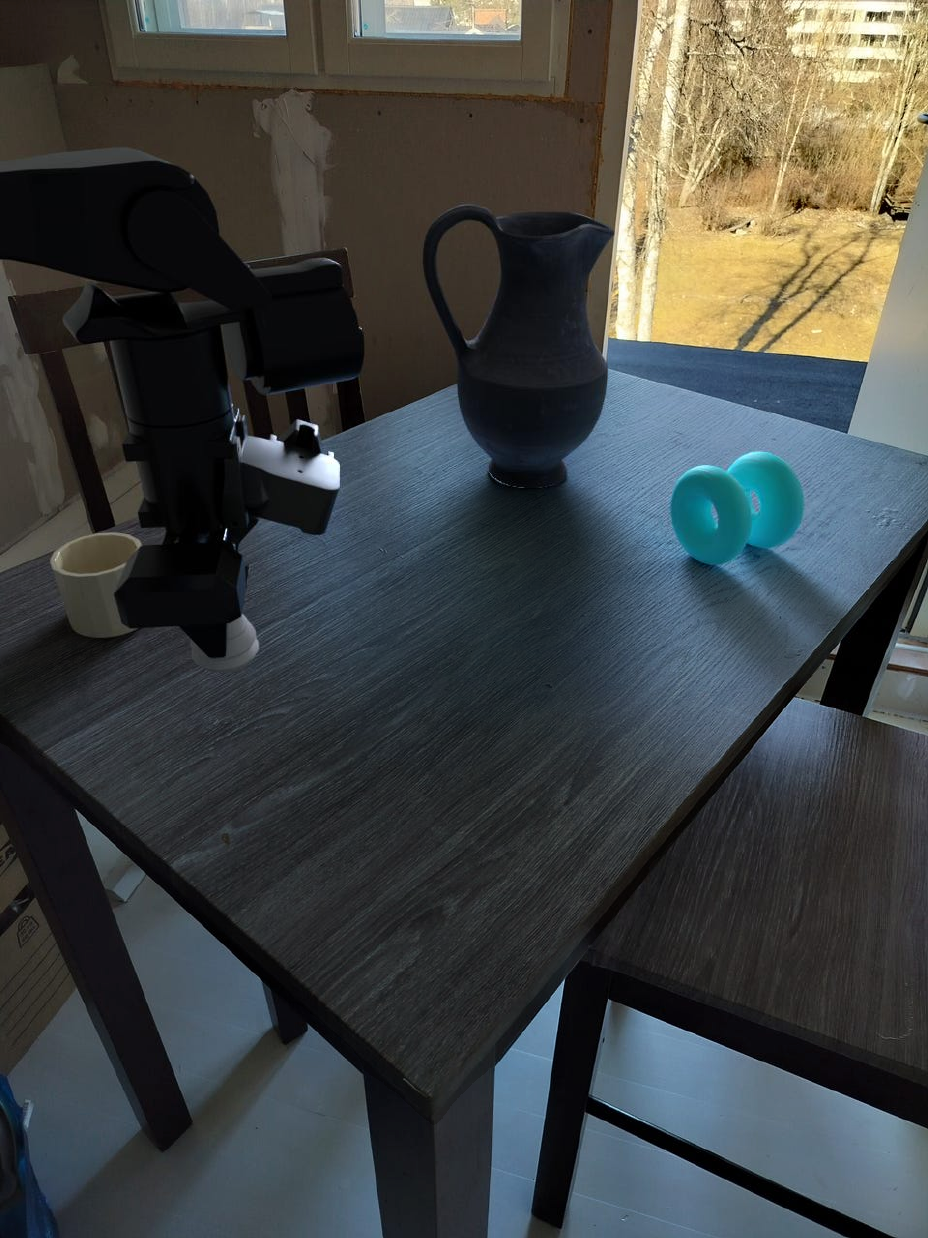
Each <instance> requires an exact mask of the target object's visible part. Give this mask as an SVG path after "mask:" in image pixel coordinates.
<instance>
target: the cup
mask: <svg viewBox="0 0 928 1238" xmlns="http://www.w3.org/2000/svg"><path fill="white" fill-rule="evenodd" d="M141 545H142V542H141V540H140V539H138V538H137V537H135V536H133V535H131V534H128V533H122V532H115V531H113V532H97V533H92V534H88V535H83V536H79V537H77V538H75V539H73V540H71V541H67V542H66V543H64V544H63V545H62V546H60V547H59V548H58V549H56V550H55V551H54V552H53V554H52V556H51V557H50V559H49V563H50V567H51V570H52V573H53V576H54V579H55V582H56V586H57V588H58V591H59V595H60V597H61V601H62V604H63V607H64V611H65V613H66V617H67V620H68V622H69V625H70V627H71V629H72V631H74V632H75V633H77V634H78V635H81V636H83V637H88V638H92V639H93V638H94V639H107V638H114V637H120V636H123V635H126V634H129V633H131V632H134V631H136V630H138V629H139V628H134V629H130V628H128V627H127V626H125V625H124V624H122V623H121V620H120V616H119V612H118V608H117V605H116V601H115V597H114V592H115V589H116V587H117V585H118V582H119V580H120V577H121V575H122V572H123V570H124V567H125V565H126V562H127V560H128V559H129V558H130V557H131V556H132V555H133V554H134V553H135V552H136V550H137V549H138V548H139V547H140V546H141Z"/></svg>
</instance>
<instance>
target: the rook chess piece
mask: <svg viewBox="0 0 928 1238" xmlns="http://www.w3.org/2000/svg"><path fill="white" fill-rule="evenodd" d="M189 640H190V641H189V643H190V644H189V646H190V649H191V659H192V660H193V662H194V663H195V665H197V666H198V667H200V668H202V669H203V670H205V671H207V672H211V673H218V674H219V673H220V674H222V673H223V674H224V673H229V672H234V671H238V670H240V669H242V668H244V667H246V666H247V665H248V664H250V663H251V662H252V661H253V660H254V659H255V657H256V655H257V653H258V652H259V650H260V641H259V640H258V639H257V630H256V628H255V627H254V625H253V624H252V623H251V622H250V621H249V620H248V618H247V616H245V615H244V614H243V613H242V616H241V617H240V618H238V619H236V620H234V621H233V622H231V623H228V637H227V653H226V656H225V657H223V658H209V657H208V656H207V655H206V654H205V653H204V652H203V651H202V650H201V649H200V648H199V647H198V646H197V645H196V644H195V643H194V642H193V641H192V640H191V639H190V638H189Z"/></svg>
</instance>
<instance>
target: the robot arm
mask: <svg viewBox="0 0 928 1238" xmlns="http://www.w3.org/2000/svg"><path fill="white" fill-rule="evenodd" d="M1 260H2V261H4V260H5V261H11V262H12V261H13V262H19V263H24V264H28V265H34V266H38V267H42V268H46V269H50V270H53V271H57V272H61V273H64V274H69V275H71V276H76V277H79V278H83V279H87V280H88V281H86V282H85V283H84V286H83V290H82V293H81V294H80V297H79V298H78V299H77V300H76V301H75V302H74V303H73V305H72V306H71V307H70V308H69V309H68V310H67V311H66V312H65V313H64V315H63V316H62V324H63V325H64V327H65V328H66V329H67V330H68V331H69V332H70V334H71V335H72V337H74V339H75V340H76V341H77V342H78V343H79V344H80V345H93V344H99V343H105V342H106V343H107V342H109V345H110V349H111V353H112V357H113V358H112V359H113V363H114V367H115V371H116V376H117V380H118V384H119V389H120V394H121V398H122V403H123V407H124V412H125V416H126V420H127V425H128V429H129V430H128V432H127V434H126V436H125V438H124V439H123V442H122V443H121V448H122V452H123V455H124V456H123V457H124V460H125V462H126V463H128V462H132V463H133V462H136V466H137V469H138V475H139V479H140V483H141V488H142V492H143V499H142V501H141V504H140V505H139V508H138V511H137V517H138V521H139V524H140V528H141V529H155V528H157V529H159V528H164V531H165V532H164V536H163V537H162V540H161V544H144V545H143V544H141V546H140V547H139V548H138V549H137V550H136V552H135V553H134V554H133V555H132V556H131V557H130V558H129V559H128V560H127V562H126V565H125V567H124V570H123V572H122V575H121V577H120V580H119V582H118V585H117V587H116V589H115V592H114V597H115V601H116V605H117V608H118V612H119V616H120V620H121V623H122V624H124V625H125V626H127V627H128V628H130V629H134V628H138V629H149V628H167V627H168V628H169V627H179V629H181V631H182V632H183V633H184V634H185V635H186V636H187V637H188V638H189V640H190V639H191V640H192V641H193V642H194V643H195V644H196V645H197V646H198V647H199V648H200V649H201V650H202V651H203V652H204V653H205V654H206V655H207V656H208V657H209V658H223V657H225V656H226V653H227V637H228V623H231V622H233V621H234V620H236V619H238V618H240V617H241V616H242V614H243V609H244V603H245V598H246V592H247V588H248V584H249V578H250V572H251V565H245V561H244V555H243V554H242V553H240V546H241V542H242V541H243V540H244V539H245V538H246V536H247V535H248V534H249V533H250V532H251V531H252V530H253V529H254V528H255V527H256V525H257V524H258V523H259V519H262V520H266V521H270V522H272V523H273V522H274V523H277V524H281V525H285V526H288V527H291V528H296V529H299V530H300V531H301V532H302V533H303V534H307V535H311V536H321V535H324V534H325V533H326V531H327V529H328V525H329V522H330V520H331V516H332V512H333V510H334V507H335V504H336V500H337V498H338V495H339V491H340V488H341V464H340V462H339V461H338V460H336V459H335V453H334V452H332V451H327V452H326V454H325V453H324V445H323V443H322V442H323V441H322V436H321V433H320V429H319V428H320V427H319V426H318V425H317V424H314V423H310V422H308V421H304V420H301V419H295V420H294V421H293V422H292V423H291V424H290V425H289V426H288V427H287V428H286V429H285V430H284V431H283V432H282V433H281V434H280V435H279V436H278V439H277V435H276V434H275V435H274V434H270V435H269V438H268V439H265V438H262V437H257V436H253V435H249V432H248V426H247V418H246V415H243V414H242V415H241V412H240V411H241V410H240V408H234V405H233V399H232V393H231V385H230V378H229V372H228V366H227V365H228V364H227V360H228V362H229V365H230V367H231V369H232V372H233V374H234V375H235V377H236V378H237V379H238V380H239V381H241V382H243V381H250V382H251V383H252V386H253V387H254V388H255V390H256V391H257V392H258V393H259V394H260V395H263V396H270V395H275V394H281V393H285V392H291V391H297V390H303V389H307V388H308V389H309V388H312V387H318V386H324V385H330V384H334V383H339V382H346V381H350V380H354V379H356V378H358V376H359V375H360V373H361V372H362V369H363V366H364V362H365V361H364V359H365V334H364V331H363V329H362V328H361V327H360V323H359V319H358V315H357V313H356V309H355V305H354V303H353V301H352V299H351V296H350V293H349V292H348V291H347V289H346V287H345V286H344V279H343V277H344V276H343V266H341V264H339V263H337V262H336V261H333V260H332V259H329V258H327V257H325V256H324V257H316V258H314V257H313V258H307V259H304V260H302V261H299V262H297V263H293V264H290V265H288V264H287V265H279V266H272V267H271V266H270V267H262V268H254V269H253V268H252V269H251V267H250V265H249V264H248V263H246V262H244V261H243V260H242V259H241V258H240V257H239V256H238V254H237V253H236V252H235V251H234V250H233V249H232V248H231V247H230V245H229V244H228V243H227V242H226V241H225V239H224V238H223V237H222V236H221V234H220V225H219V220H218V214H217V209H216V207H215V205H214V203H213V201H212V199H211V197H210V194H209V193H208V191H207V190H206V189H205V188H204V186H203V185H202V184H201V183H200V182H199V181H198V180H197V178H196V177H195V176H194V175H193V174H192V173H191V172H189V171H187V170H186V169H184V168H183V167H181V166H179V165H177V164H174V163H172V162H170V161H166V160H165V159H162V158H159V157H157V156H155V155H152V154H149V153H148V152H145V151H142V150H139V149H136V148H132V147H126V146H119V147H118V146H115V147H104V148H94V149H82V150H74V151H73V150H71V151H63V152H61V151H60V152H53V153H49V154H42V155H36V156H31V157H24V158H19V159H12V160H3V161H2V160H1V161H0V261H1ZM94 281H96V282H99V283H100V282H101V283H106V284H111V285H116V286H120V287H127V288H131V289H137V290H143V291H145V292H138V293H137V292H136V293H129V294H122V295H111V294H109V293H107V292H106V291H104V289H102V288H100V286H99V285H98V284H97V283H96V282H94ZM187 289H191V290H192V291H195V292H196V293H198V294H200V295H202V296H205V297H206V298H208V299H210V300H204V301H195V302H193V301H192V302H178V301H177V299H176V298H175V296H174V295H173V294H172V293H176V292H182V291H185V290H187ZM226 357H227V359H226Z"/></svg>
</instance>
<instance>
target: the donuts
mask: <svg viewBox="0 0 928 1238" xmlns="http://www.w3.org/2000/svg"><path fill="white" fill-rule="evenodd" d="M752 492H753V493H754V494H755V496H756V497H757V499H758V503H759V511H758V512H757V510H756V508H755V506H754V504H753V498H752ZM712 506H713V507H714V509H715V512H716V515H717V521H716V519H715V517H714V515H713V512H712V511H713V509H712ZM804 511H805V497H804V492H803V487H802V484H801V482H800V479H799V477H798V476H797V474H796V472H795V470H794V469H793V467H791V465H790V464H789V463H787V461H785V460H784V459H783V458H782V457H780V456H778V455H776V454H775V453H774V454H773V453H771V452H768V451H751V452H748V453H745V454H743V455H742V456H740V457H738V458H737V459H736V460H734V462H733V463H732V464H731V465H730V466H729V468H728V469H727V470H725V469H723V468H721V467H718V466H716V465H709V464H707V465H705V464H704V465H698V466H694V467H692V468H690V469H688V470H687V471H686V472H684V473H683V474H682V475H681V476H680V478H678V480H677V481H676V482H675V485H674V487H673V490H672V493H671V497H670V503H669V512H670V513H669V514H670V521H671V526H672V529H673V532H674V534H675V538H676V539H677V541H678V542H679V544H680V546H681V547H682V548H683V549H684V551H685V552H686V553H688V555H689V556H691V557H692V558H693V559H695V560H696V561H698V562H700V563H703V564H706V565H712V566H718V565H724V564H727V563H729V562H731V561H733V560H734V559H736V558H737V557H738V556H739V555H741V553H742V551H743V550H744V549H745V547H746V546H747V545H750V546H752V547H756V548H759V549H772V548H773V549H774V548H777V547H779V546H782V545H783V544H785V543H786V542H788V541H789V540H791V539H792V537H794V535H795V534H796V532H797V531H798V529H799V528H800V525H801V524H802V521H803V517H804Z"/></svg>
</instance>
